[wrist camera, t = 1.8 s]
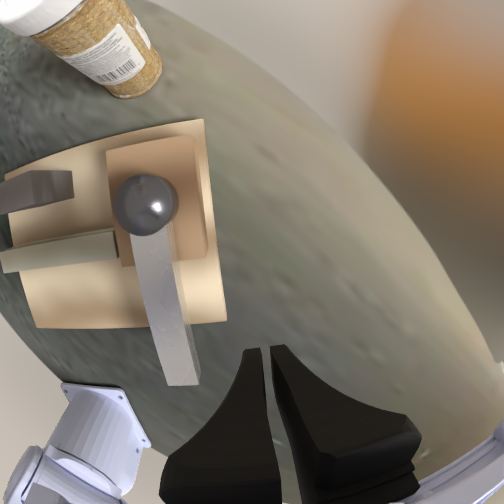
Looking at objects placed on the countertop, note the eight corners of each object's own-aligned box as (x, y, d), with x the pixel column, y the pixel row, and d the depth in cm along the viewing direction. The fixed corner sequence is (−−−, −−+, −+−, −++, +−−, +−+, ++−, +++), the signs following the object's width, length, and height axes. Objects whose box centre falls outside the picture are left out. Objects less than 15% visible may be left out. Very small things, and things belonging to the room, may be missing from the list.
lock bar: (124, 180, 14) (110, 180, 12) (175, 171, 14) (167, 169, 12) (165, 371, 17) (160, 389, 15) (208, 369, 17) (206, 388, 15)
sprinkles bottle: (166, 45, 15) (107, -78, 2) (159, 97, 16) (65, -10, 3) (111, 54, 15) (18, -35, 2) (103, 104, 16) (-23, 40, 3)
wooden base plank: (226, 314, 21) (226, 361, 15) (42, 323, 20) (8, 354, 14) (204, 122, 17) (193, 95, 11) (11, 174, 16) (-35, 177, 10)
